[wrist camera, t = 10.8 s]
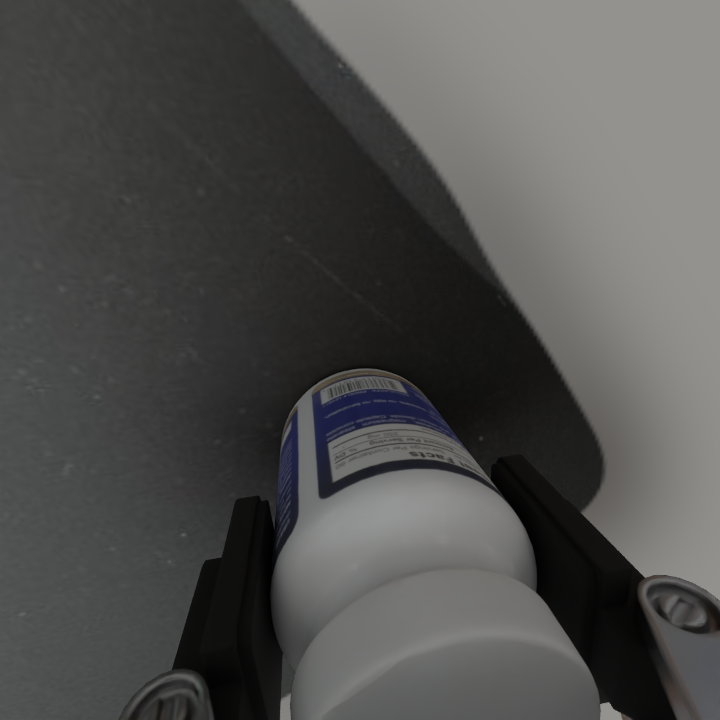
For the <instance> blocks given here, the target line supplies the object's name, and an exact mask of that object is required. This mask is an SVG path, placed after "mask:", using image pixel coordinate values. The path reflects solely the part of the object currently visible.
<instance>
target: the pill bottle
mask: <svg viewBox="0 0 720 720" xmlns="http://www.w3.org/2000/svg"><path fill="white" fill-rule="evenodd" d="M536 589H537V567H536V560H535V555H534V551H533V547H532V544H531V542H530V539H529V537H528V534H527V532H526V529H525V528H524V526H523V524H522V522H521V521H520V519H519V518H518V516H517V514H516V513H515V512H514V510H513V509H512V508H511V506H510V505H509V503H508V502H507V500H506V499H505V498H504V497H503V495H502V494H501V493H500V492H499V490H498V489H497V488H496V487H495V485H494V484H493V483H492V482H491V480H490V479H489V478H488V476H487V475H486V474H485V473H484V471H483V470H482V469H481V467H480V466H479V465H478V464H477V462H476V461H475V460H474V458H473V457H472V456H471V454H470V453H469V452H468V451H467V449H466V448H465V447H464V445H463V444H462V443H461V442H460V440H459V439H458V438H457V436H456V435H455V434H454V432H453V431H452V430H451V428H450V427H449V426H448V424H447V423H446V422H445V420H444V419H443V418H442V417H441V415H440V414H439V413H438V411H437V410H436V409H435V407H434V406H433V405H432V403H431V402H430V401H429V400H428V398H427V397H426V396H425V395H424V394H423V393H422V392H421V391H420V390H419V389H418V388H417V387H416V386H415V385H413V384H412V383H410V382H409V381H407V380H406V379H404V378H402V377H400V376H398V375H396V374H393V373H390V372H386V371H383V370H378V369H353V370H348V371H343V372H340V373H337V374H334V375H332V376H330V377H327V378H325V379H324V380H322V381H320V382H319V383H317V384H316V385H314V386H313V387H312V388H310V389H309V390H308V391H307V392H306V393H305V394H304V395H303V396H302V397H301V398H300V399H299V401H298V402H297V403H296V404H295V406H294V408H293V409H292V411H291V412H290V414H289V417H288V419H287V421H286V424H285V427H284V431H283V435H282V441H281V449H280V464H279V477H278V492H277V505H276V517H275V530H274V541H273V554H272V567H271V585H270V603H271V616H272V622H273V627H274V630H275V634H276V638H277V640H278V643H279V646H280V648H281V650H282V652H283V654H284V655H285V657H286V659H287V661H288V662H289V663H290V665H291V666H292V668H293V669H294V670H295V672H296V674H295V677H294V680H293V684H292V690H291V702H290V709H291V720H600V699H599V693H598V689H597V687H596V684H595V681H594V679H593V676H592V674H591V672H590V670H589V668H588V667H587V665H586V664H585V662H584V661H583V659H582V657H581V656H580V654H579V653H578V651H577V650H576V648H575V647H574V645H573V643H572V642H571V640H570V639H569V637H568V636H567V634H566V633H565V631H564V630H563V628H562V627H561V625H560V624H559V623H558V621H557V619H556V618H555V616H554V615H553V613H552V612H551V610H550V609H549V607H548V606H547V604H546V603H545V602H544V601H543V599H542V598H541V597H540V596H539V595H538V594H537V593H536Z"/></svg>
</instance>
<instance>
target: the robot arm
mask: <svg viewBox="0 0 720 720" xmlns="http://www.w3.org/2000/svg"><path fill="white" fill-rule="evenodd" d="M491 482H492V483H493V484H494V485H495V487H496V488H497V489H498V490H499V492H500V493H501V494H502V495H503V497H504V498H505V499H506V500H507V502H508V503H509V505H510V506H511V508H512V509H513V510H514V512H515V513H516V514H517V516H518V518H519V519H520V521H521V522H522V524H523V526H524V528H525V529H526V532H527V534H528V537H529V539H530V542H531V544H532V547H533V551H534V555H535V560H536V567H537V589H536V593H537V594H538V595H539V596H540V597H541V598H542V599H543V601H544V602H545V603H546V604H547V606H548V607H549V609H550V610H551V612H552V613H553V615H554V616H555V618H556V619H557V621H558V623H559V624H560V625H561V627H562V628H563V630H564V631H565V633H566V634H567V636H568V637H569V639H570V640H571V642H572V643H573V645H574V647H575V648H576V650H577V651H578V653H579V654H580V656H581V657H582V659H583V661H584V662H585V664H586V665H587V667H588V668H589V670H590V672H591V674H592V676H593V679H594V681H595V684H596V687H597V689H598V693H599V699H600V704H602V703H607V702H609V703H610V704H611V706H612V707H613V709H615V710H617V711H618V712H621V715H622V719H623V720H720V601H719V600H718V599H717V598H716V597H714V596H713V595H712V594H710V593H709V592H708V591H707V590H705V589H703V588H701V587H699V586H697V585H696V584H694V583H691V582H689V581H686V580H683V579H681V578H677V577H671V576H667V575H653V576H650V577H647V578H645V577H643V575H642V574H641V573H639V571H638V570H637V569H635V568H634V566H633V565H632V564H631V563H630V562H629V561H627V559H626V558H625V557H624V556H623V555H622V554H621V553H620V552H619V551H618V550H617V549H616V548H615V547H614V546H613V545H612V544H611V543H610V542H609V541H608V540H607V539H606V538H605V537H604V536H603V535H602V534H601V533H600V532H599V531H598V530H597V529H596V528H595V527H594V526H593V525H592V524H591V523H590V522H589V521H588V520H587V519H586V518H585V517H584V516H583V515H582V514H581V513H580V512H579V511H578V510H577V509H576V508H575V507H574V506H573V505H572V504H571V503H570V502H569V501H567V500H565V499H564V498H563V497H562V496H561V495H560V494H559V493H558V492H557V491H556V490H555V489H554V488H553V487H552V486H551V485H550V484H549V483H548V481H547V480H546V479H545V478H544V477H543V476H542V475H541V474H540V473H539V472H538V471H537V470H536V469H535V468H534V467H533V466H532V465H531V464H530V463H529V462H528V461H527V460H526V459H525V458H524V457H523V456H522V455H519V454H518V455H511V456H505V457H499V458H498V460H497V463H496V464H493V465H492V468H491ZM273 541H274V527H273V522H272V517H271V511H270V506H269V502H268V500H265V501H261V499H260V497H259V496H253V497H246V498H240V499H237V500H236V501H235V505H234V509H233V513H232V518H231V522H230V526H229V530H228V534H227V538H226V542H225V546H224V551H223V555H222V558H216V559H210V560H206V561H205V562H204V564H203V566H202V569H201V572H200V576H199V579H198V582H197V586H196V589H195V593H194V596H193V599H192V603H191V606H190V610H189V613H188V616H187V620H186V623H185V627H184V630H183V634H182V637H181V640H180V644H179V647H178V651H177V654H176V657H175V661H174V664H173V668H172V670H171V671H168V672H166V673H163V674H160V675H159V676H157V677H156V678H154V679H152V680H151V681H149V682H148V683H146V684H145V685H144V686H143V687H142V688H141V689H140V690H139V691H138V692H137V693H136V694H135V695H134V696H133V697H132V698H131V700H130V701H129V702H128V704H127V705H126V706H125V708H124V709H123V711H122V713H121V715H120V718H119V720H280V702H281V679H282V656H283V652H282V650H281V648H280V646H279V643H278V640H277V638H276V634H275V630H274V627H273V622H272V616H271V603H270V585H271V567H272V554H273Z"/></svg>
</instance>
